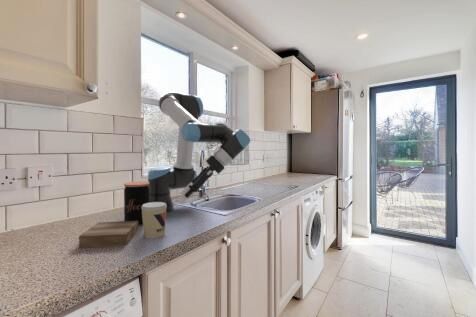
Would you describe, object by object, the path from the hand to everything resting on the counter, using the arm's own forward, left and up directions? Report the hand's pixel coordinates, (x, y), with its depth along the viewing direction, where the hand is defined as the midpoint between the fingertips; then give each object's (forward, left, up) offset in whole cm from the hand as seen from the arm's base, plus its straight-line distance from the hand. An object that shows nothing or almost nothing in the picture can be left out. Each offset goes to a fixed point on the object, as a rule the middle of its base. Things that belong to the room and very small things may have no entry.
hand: (180, 198), depth 91 cm
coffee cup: (0, -10, -14) cm, 18 cm away
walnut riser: (+2, -25, -14) cm, 29 cm away
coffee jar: (-17, -21, -14) cm, 31 cm away
